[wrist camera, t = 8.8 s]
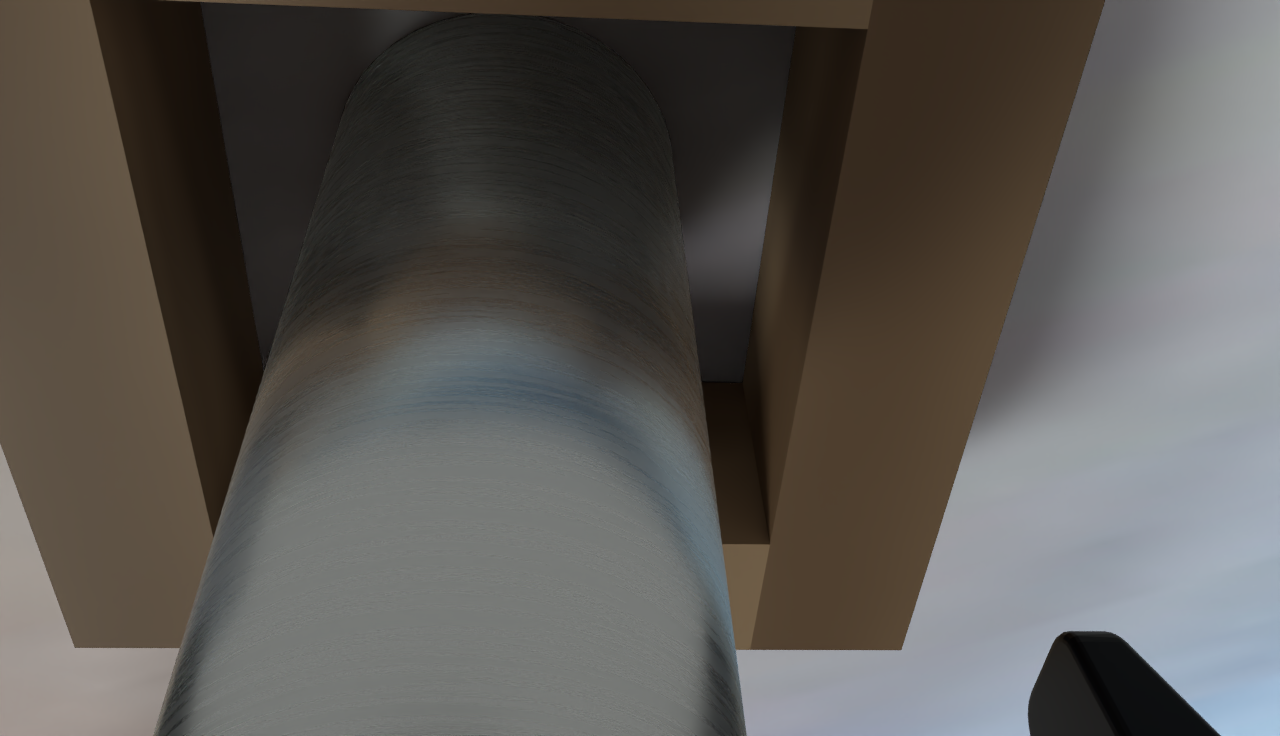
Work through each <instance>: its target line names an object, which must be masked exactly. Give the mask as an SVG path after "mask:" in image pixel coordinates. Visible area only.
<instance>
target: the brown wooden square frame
mask: <svg viewBox="0 0 1280 736" xmlns="http://www.w3.org/2000/svg"><path fill="white" fill-rule="evenodd" d="M200 2H217V3H242V4H266V5H290V6H315V7H339V8H364V9H388V10H412V11H437V12H461V13H485V14H510V15H534V16H559V17H583V18H607V19H632V20H656V21H680V22H705V23H729V24H754V25H778V26H796V31H795V38H794V45H793V51H792V58H791V65H790V71H789V78H788V85H787V91H786V98H785V104H784V111H783V118H782V124H781V131H780V138H779V144H778V151H777V158H776V164H775V171H774V178H773V184H772V191H771V197H770V204H769V211H768V217H767V224H766V231H765V237H764V244H763V251H762V257H761V264H760V271H759V277H758V284H757V290H756V297H755V304H754V310H753V317H752V324H751V330H750V337H749V344H748V350H747V357H746V364H745V370H744V377H743V383H718V382H701V383H702V391H703V399H704V407H705V414H706V422H707V430H708V438H709V446H710V453H711V461H712V469H713V477H714V485H715V493H716V500H717V508H718V516H719V524H720V532H721V539H722V547H723V555H724V563H725V571H726V578H727V586H728V594H729V602H730V610H731V617H732V625H733V633H734V641H735V649H736V650H901V649H902V646H903V643H904V640H905V637H906V633H907V630H908V627H909V624H910V621H911V617H912V614H913V611H914V608H915V605H916V601H917V598H918V595H919V592H920V589H921V586H922V582H923V579H924V576H925V573H926V570H927V566H928V563H929V560H930V557H931V554H932V551H933V547H934V544H935V541H936V538H937V535H938V531H939V528H940V525H941V522H942V519H943V516H944V512H945V509H946V506H947V503H948V500H949V496H950V493H951V490H952V487H953V484H954V480H955V477H956V474H957V471H958V468H959V465H960V461H961V458H962V455H963V452H964V449H965V445H966V442H967V439H968V436H969V433H970V430H971V426H972V423H973V420H974V417H975V414H976V410H977V407H978V404H979V401H980V398H981V395H982V391H983V388H984V385H985V382H986V379H987V375H988V372H989V369H990V366H991V363H992V359H993V356H994V353H995V350H996V347H997V344H998V340H999V337H1000V334H1001V331H1002V328H1003V324H1004V321H1005V318H1006V315H1007V312H1008V309H1009V305H1010V302H1011V299H1012V296H1013V293H1014V289H1015V286H1016V283H1017V280H1018V277H1019V273H1020V270H1021V267H1022V264H1023V261H1024V258H1025V254H1026V251H1027V248H1028V245H1029V242H1030V238H1031V235H1032V232H1033V229H1034V226H1035V223H1036V219H1037V216H1038V213H1039V210H1040V207H1041V203H1042V200H1043V197H1044V194H1045V191H1046V188H1047V184H1048V181H1049V178H1050V175H1051V172H1052V168H1053V165H1054V162H1055V159H1056V156H1057V152H1058V149H1059V146H1060V143H1061V140H1062V137H1063V133H1064V130H1065V127H1066V124H1067V121H1068V117H1069V114H1070V111H1071V108H1072V105H1073V102H1074V98H1075V95H1076V92H1077V89H1078V86H1079V82H1080V79H1081V76H1082V73H1083V70H1084V67H1085V63H1086V60H1087V57H1088V54H1089V51H1090V47H1091V44H1092V41H1093V38H1094V35H1095V31H1096V28H1097V25H1098V22H1099V19H1100V16H1101V12H1102V9H1103V6H1104V3H1105V0H0V444H1V446H2V449H3V452H4V455H5V457H6V460H7V463H8V466H9V468H10V471H11V474H12V476H13V479H14V482H15V485H16V487H17V490H18V493H19V496H20V498H21V501H22V504H23V507H24V509H25V512H26V515H27V518H28V520H29V523H30V526H31V529H32V531H33V534H34V537H35V540H36V542H37V545H38V548H39V551H40V553H41V556H42V559H43V561H44V564H45V567H46V570H47V572H48V575H49V578H50V581H51V583H52V586H53V589H54V592H55V594H56V597H57V600H58V603H59V605H60V608H61V611H62V614H63V616H64V619H65V622H66V625H67V627H68V630H69V633H70V636H71V638H72V641H73V644H74V647H75V648H180V646H181V643H182V640H183V636H184V633H185V630H186V626H187V623H188V620H189V617H190V613H191V610H192V607H193V603H194V600H195V597H196V594H197V590H198V587H199V584H200V580H201V577H202V574H203V571H204V567H205V564H206V561H207V557H208V554H209V551H210V548H211V544H212V541H213V538H214V534H215V531H216V528H217V525H218V521H219V518H220V515H221V511H222V508H223V505H224V502H225V498H226V495H227V492H228V488H229V485H230V482H231V479H232V475H233V472H234V469H235V466H236V462H237V459H238V456H239V452H240V449H241V446H242V443H243V439H244V436H245V433H246V429H247V426H248V423H249V420H250V416H251V413H252V410H253V406H254V403H255V400H256V397H257V393H258V390H259V387H260V383H261V380H262V377H263V374H264V373H263V367H262V361H261V355H260V349H259V344H258V338H257V332H256V326H255V320H254V314H253V309H252V303H251V297H250V291H249V285H248V279H247V273H246V268H245V262H244V256H243V250H242V244H241V238H240V233H239V227H238V221H237V215H236V209H235V203H234V198H233V192H232V186H231V180H230V174H229V168H228V163H227V157H226V151H225V145H224V139H223V133H222V128H221V122H220V116H219V110H218V104H217V98H216V92H215V87H214V81H213V75H212V69H211V63H210V57H209V52H208V46H207V40H206V34H205V28H204V22H203V17H202V11H201V5H200Z"/></svg>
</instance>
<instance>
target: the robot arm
mask: <svg viewBox="0 0 1280 736" xmlns="http://www.w3.org/2000/svg"><path fill="white" fill-rule="evenodd" d="M1028 723H1029V730H1030V736H1220V735H1219V734H1218V733H1217V732H1216V731H1215V730H1214V729H1213V728H1212V727H1211V726H1210V725H1209V724H1208V723H1207V722H1206V721H1205V720H1204V719H1203V718H1202V717H1201V716H1200V715H1199V714H1198V713H1197V712H1196V711H1195V710H1194V709H1193V708H1192V707H1191V706H1190V705H1189V704H1188V703H1187V702H1186V701H1185V700H1184V699H1183V698H1182V697H1181V696H1180V695H1179V694H1178V693H1177V692H1176V691H1175V690H1174V689H1173V688H1172V687H1171V686H1170V685H1169V684H1168V683H1167V682H1166V681H1165V680H1164V679H1163V678H1162V677H1161V676H1160V675H1159V674H1158V673H1157V672H1156V671H1155V670H1154V669H1153V668H1152V667H1151V666H1150V665H1149V664H1148V663H1147V662H1146V661H1145V660H1144V659H1143V658H1142V657H1141V656H1140V655H1139V654H1138V653H1137V652H1136V651H1135V650H1134V649H1133V648H1132V647H1131V646H1130V645H1129V644H1128V643H1127V642H1126V641H1125V640H1123V639H1122V638H1121V637H1119V636H1117V635H1116V634H1113V633H1110V632H1105V631H1068V632H1063V633H1062V634H1061V635H1059V636H1058V637H1057V638H1056V639H1055V641H1054V643H1053V644H1052V647H1051V649H1050V651H1049V654H1048V656H1047V658H1046V660H1045V663H1044V665H1043V667H1042V669H1041V672H1040V674H1039V676H1038V679H1037V681H1036V683H1035V685H1034V688H1033V690H1032V692H1031V696H1030V699H1029V705H1028Z"/></svg>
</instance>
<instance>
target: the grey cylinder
mask: <svg viewBox="0 0 1280 736" xmlns="http://www.w3.org/2000/svg"><path fill="white" fill-rule="evenodd" d="M153 736H747V735H746V727H745V719H744V711H743V703H742V696H741V688H740V680H739V672H738V664H737V656H736V649H735V641H734V633H733V625H732V617H731V610H730V602H729V594H728V586H727V578H726V571H725V563H724V555H723V547H722V539H721V532H720V524H719V516H718V508H717V500H716V493H715V485H714V477H713V469H712V461H711V453H710V446H709V438H708V430H707V422H706V414H705V407H704V399H703V391H702V383H701V375H700V368H699V360H698V352H697V344H696V336H695V329H694V321H693V313H692V305H691V297H690V289H689V282H688V274H687V266H686V258H685V250H684V243H683V235H682V227H681V219H680V211H679V204H678V196H677V188H676V180H675V172H674V165H673V157H672V149H671V142H670V137H669V133H668V130H667V126H666V123H665V119H664V117H663V115H662V113H661V111H660V108H659V106H658V104H657V102H656V100H655V98H654V97H653V95H652V94H651V92H650V90H649V89H648V87H647V86H646V84H645V83H644V82H643V80H642V79H641V78H640V77H639V76H638V74H637V73H636V72H635V71H634V70H633V69H632V67H631V66H630V65H628V64H627V63H626V62H625V61H624V60H623V59H622V58H621V57H620V56H618V55H617V54H616V53H615V52H614V51H612V50H611V49H610V48H608V47H607V46H605V45H604V44H602V43H601V42H599V41H598V40H597V39H595V38H593V37H591V36H589V35H587V34H585V33H583V32H581V31H579V30H578V29H576V28H573V27H570V26H568V25H565V24H562V23H560V22H557V21H554V20H551V19H546V18H542V17H538V16H533V15H510V14H485V13H475V14H468V15H461V16H456V17H453V18H449V19H445V20H442V21H438V22H435V23H433V24H430V25H428V26H426V27H423V28H421V29H419V30H416V31H414V32H413V33H411V34H409V35H408V36H406V37H404V38H403V39H401V40H399V41H398V42H396V43H395V44H393V45H392V46H391V47H390V48H389V49H387V50H386V51H385V52H384V53H382V54H381V55H380V56H379V57H378V58H377V59H376V60H375V61H374V62H373V63H372V64H371V66H370V67H369V68H368V69H367V70H366V71H365V72H364V74H363V75H362V77H361V78H360V80H359V81H358V83H357V84H356V86H355V87H354V89H353V90H352V93H351V95H350V97H349V99H348V101H347V103H346V105H345V108H344V111H343V114H342V117H341V121H340V124H339V127H338V130H337V134H336V137H335V140H334V144H333V147H332V150H331V153H330V157H329V160H328V163H327V167H326V170H325V173H324V176H323V180H322V183H321V186H320V190H319V193H318V196H317V199H316V203H315V206H314V209H313V213H312V216H311V219H310V222H309V226H308V229H307V232H306V236H305V239H304V242H303V245H302V249H301V252H300V255H299V259H298V262H297V265H296V268H295V272H294V275H293V278H292V282H291V285H290V288H289V291H288V295H287V298H286V301H285V305H284V308H283V311H282V314H281V318H280V321H279V324H278V328H277V331H276V334H275V337H274V341H273V344H272V347H271V351H270V354H269V357H268V360H267V364H266V367H265V370H264V374H263V377H262V380H261V383H260V387H259V390H258V393H257V397H256V400H255V403H254V406H253V410H252V413H251V416H250V420H249V423H248V426H247V429H246V433H245V436H244V439H243V443H242V446H241V449H240V452H239V456H238V459H237V462H236V466H235V469H234V472H233V475H232V479H231V482H230V485H229V488H228V492H227V495H226V498H225V502H224V505H223V508H222V511H221V515H220V518H219V521H218V525H217V528H216V531H215V534H214V538H213V541H212V544H211V548H210V551H209V554H208V557H207V561H206V564H205V567H204V571H203V574H202V577H201V580H200V584H199V587H198V590H197V594H196V597H195V600H194V603H193V607H192V610H191V613H190V617H189V620H188V623H187V626H186V630H185V633H184V636H183V640H182V643H181V646H180V649H179V653H178V656H177V659H176V663H175V666H174V669H173V672H172V676H171V679H170V682H169V686H168V689H167V692H166V695H165V699H164V702H163V705H162V709H161V712H160V715H159V718H158V722H157V725H156V728H155V732H154V735H153Z"/></svg>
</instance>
